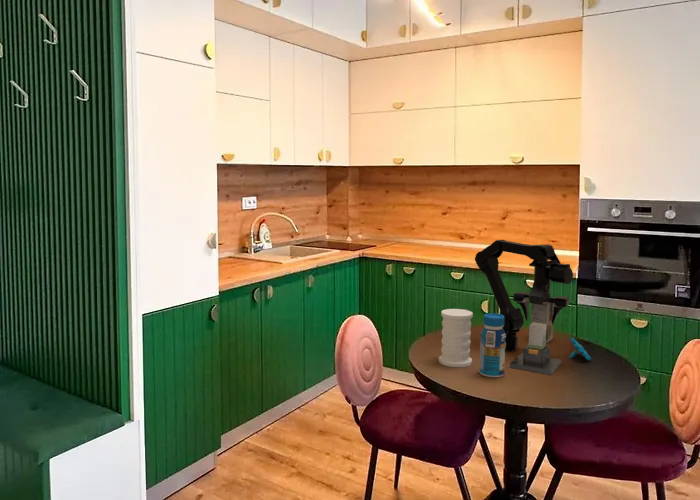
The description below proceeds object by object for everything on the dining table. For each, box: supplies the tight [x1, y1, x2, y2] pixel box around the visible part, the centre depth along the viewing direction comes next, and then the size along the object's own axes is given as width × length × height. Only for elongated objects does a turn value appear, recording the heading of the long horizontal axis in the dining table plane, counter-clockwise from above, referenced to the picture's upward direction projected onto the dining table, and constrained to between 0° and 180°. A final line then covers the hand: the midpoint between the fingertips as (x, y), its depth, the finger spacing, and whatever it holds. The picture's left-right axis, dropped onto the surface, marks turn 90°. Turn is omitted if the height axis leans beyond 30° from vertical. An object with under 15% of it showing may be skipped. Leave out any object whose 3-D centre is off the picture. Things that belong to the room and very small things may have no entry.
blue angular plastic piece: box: [568, 337, 592, 361], centre depth 225 cm, size 11×6×10 cm
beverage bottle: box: [478, 312, 506, 378], centre depth 206 cm, size 8×8×20 cm
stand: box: [509, 344, 562, 376], centre depth 216 cm, size 14×14×7 cm
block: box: [527, 322, 547, 351], centre depth 215 cm, size 5×5×9 cm
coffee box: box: [530, 302, 555, 344], centre depth 247 cm, size 9×6×16 cm
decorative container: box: [438, 308, 474, 368], centre depth 218 cm, size 12×12×18 cm
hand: (539, 322), depth 224 cm, fingers open, 9 cm apart
